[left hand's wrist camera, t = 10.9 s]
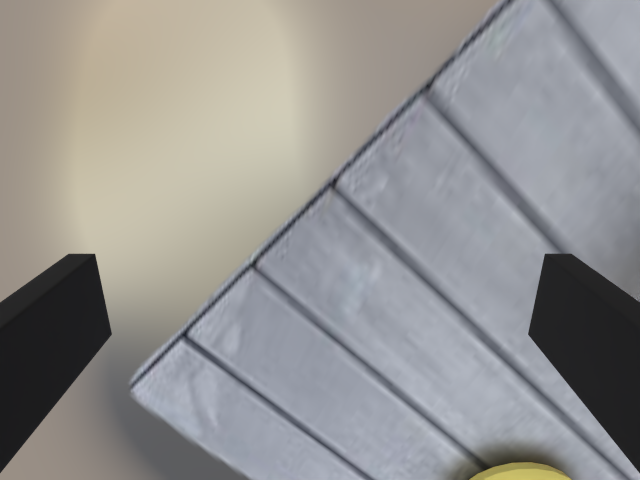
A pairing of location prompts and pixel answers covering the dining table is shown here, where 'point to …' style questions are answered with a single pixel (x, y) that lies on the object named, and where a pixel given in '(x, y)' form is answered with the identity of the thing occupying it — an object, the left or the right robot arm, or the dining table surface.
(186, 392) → the dining table surface
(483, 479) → the vase
